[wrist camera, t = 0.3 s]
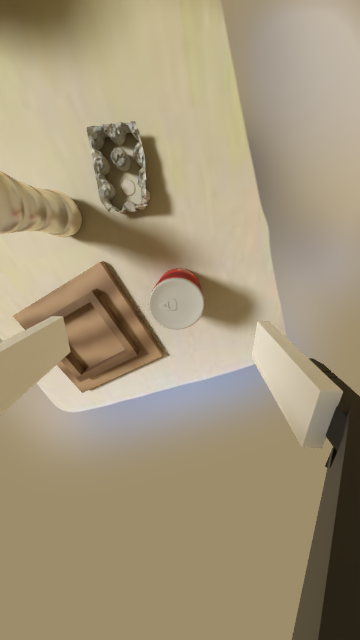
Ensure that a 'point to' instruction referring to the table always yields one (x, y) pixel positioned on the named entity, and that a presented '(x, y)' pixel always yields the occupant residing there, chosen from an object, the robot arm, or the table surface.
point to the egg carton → (117, 163)
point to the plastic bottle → (36, 209)
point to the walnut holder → (95, 328)
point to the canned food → (177, 299)
